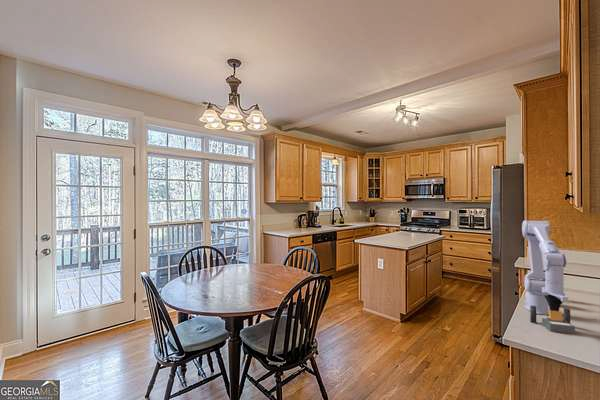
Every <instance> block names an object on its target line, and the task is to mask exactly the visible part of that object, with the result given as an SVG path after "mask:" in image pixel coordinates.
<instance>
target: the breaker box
mask: <svg viewBox="0 0 600 400" xmlns="http://www.w3.org/2000/svg"><path fill="white" fill-rule="evenodd" d="M541 322H542V323H541V325H542V326H543V327H544V328H545V327H546V330H548V331H550V332H554V333H561V334H571V335H575V334H576V328H575V325H573V324H572V323H571V322H570V323H568V322H567V321H566V320H565V319H564V318H563V321H560V320H551V319H550V318H549V316H548V317H546V318H545V317H542V318H541Z"/></svg>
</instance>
